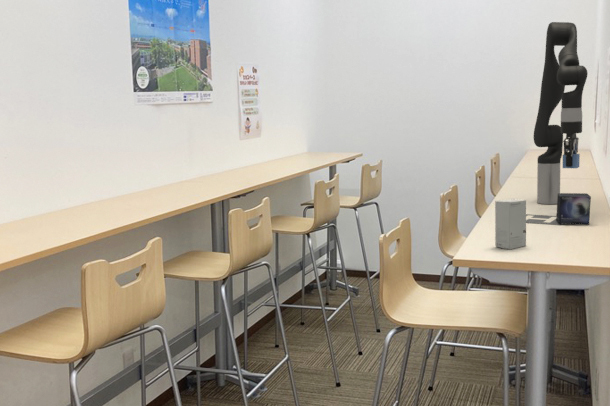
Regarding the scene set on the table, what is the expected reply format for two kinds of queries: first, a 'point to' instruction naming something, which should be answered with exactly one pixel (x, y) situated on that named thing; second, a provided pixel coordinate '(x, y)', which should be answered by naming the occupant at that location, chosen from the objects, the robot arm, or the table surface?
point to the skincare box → (510, 223)
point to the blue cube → (574, 163)
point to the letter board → (541, 219)
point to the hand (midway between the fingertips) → (570, 165)
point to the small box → (573, 208)
